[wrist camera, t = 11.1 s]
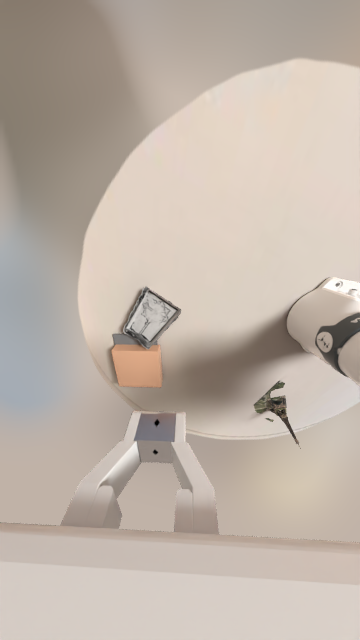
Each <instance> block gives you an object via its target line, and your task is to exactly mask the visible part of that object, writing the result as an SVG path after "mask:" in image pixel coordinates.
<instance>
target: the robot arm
mask: <svg viewBox="0 0 360 640" xmlns="http://www.w3.org/2000/svg"><path fill="white" fill-rule="evenodd" d="M336 284H337V285H336ZM287 329H288V332H289V334H290V335H291V337H292V338H294V339H295V340H296V341H298V342H299V343H300V344H301V346H302V348H303V349H304V350H305V351H306V352H308V353H313V354H314V355H316V356H317V357H319V358H320V359H321V360H323V361H324V362H325V363H327V364H329V365H331V366H332V367H333V368H334V369H335V370H337V371H339V372H340V373H341V374H343V375H344V376H346V377H349V378H350V379H352V380H353V381H354V382H355V383H356V384H357V385H358V386H360V282H356V281H350V280H345V279H340V278H335V277H330V278H328V279H326V280H325V281H324V282H323V283H322V284H321V285H320V286H319V287H318V288H317V289H315V290H313V291H311V292H310V293H308V294H306V295H305V296H303V297H302V298H301V299H299V300H298V301H297V302H296V303H295V305H294V306H293V307H292V309H291V310H290V312H289V315H288V318H287ZM141 462H159V463H173V467H174V469H175V472H176V474H177V477H178V479H179V482H180V484H181V487H182V489H179V490H178V491H177V493H176V510H175V525H174V532H164V531H163V532H162V531H145V530H127V529H119V526H120V522H121V517H122V513H121V511H120V508H119V505H118V502H117V498H118V496H119V495H120V493H121V492H122V490H123V489H124V487H125V486H126V484H127V483H128V481H129V480H130V479H131V477H132V476H133V474H134V473H135V471H136V470H137V468H138V467H139V465H140V464H141ZM0 640H360V543H359V542H341V541H324V540H307V539H289V538H288V539H287V538H271V537H270V538H269V537H253V536H234V535H219V532H218V522H217V513H216V503H215V493H214V488H213V487H212V485H211V483H210V481H209V480H208V478H207V476H206V474H205V473H204V471H203V469H202V467H201V466H200V464H199V462H198V460H197V458H196V456H195V455H194V453H193V451H192V449H191V448H190V446H189V444H188V443H186V414H185V412H162V411H159V412H152V411H133V412H132V414H131V417H130V421H129V423H128V427H127V430H126V433H125V436H124V439H123V440H121V441H119V442H118V443H117V444H116V445H115V446H114V447H113V449H112V450H111V451H110V452H109V453H108V454H107V455H106V456H105V457H104V458H103V459H102V460H101V461H100V462H99V463H98V464H97V465H96V466H95V467H94V468H93V469H92V470H91V471H90V472H89V474H87V476H86V477H85V478H84V479H83V480H82V481H81V482H80V483H79V485H78V487H77V489H76V492H75V494H74V496H73V498H72V500H71V502H70V505H69V507H68V509H67V511H66V514H65V516H64V518H63V520H62V522H61V525H60V526H56V525H38V524H20V523H1V522H0Z"/></svg>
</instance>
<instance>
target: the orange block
mask: <svg viewBox="0 0 360 640" xmlns="http://www.w3.org/2000/svg"><path fill="white" fill-rule="evenodd" d="M112 356H113V360H114V365H115V370H116V374H117V379H118V384H119V386H127V387H161V386H162V381H163V376H162V363H161V350H160V345H152V346H151V347H150V349H146V348H145V347H143V346H142V345H124V344H116V345H115V346H114V348H113V349H112Z"/></svg>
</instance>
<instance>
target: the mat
mask: <svg viewBox="0 0 360 640" xmlns="http://www.w3.org/2000/svg"><path fill="white" fill-rule="evenodd" d="M113 338H114V343H115V345H116V344H124V345H141V343H140V342H139V340H137V339H135V338H132V337H130V336H129V335H127V334H113ZM153 345H157V340H156V341H155V342H154V343H153Z"/></svg>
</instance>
